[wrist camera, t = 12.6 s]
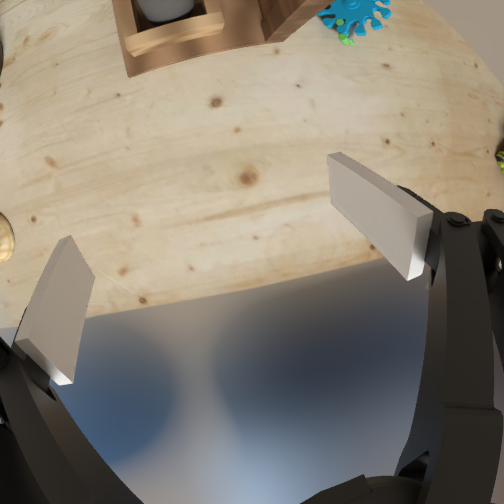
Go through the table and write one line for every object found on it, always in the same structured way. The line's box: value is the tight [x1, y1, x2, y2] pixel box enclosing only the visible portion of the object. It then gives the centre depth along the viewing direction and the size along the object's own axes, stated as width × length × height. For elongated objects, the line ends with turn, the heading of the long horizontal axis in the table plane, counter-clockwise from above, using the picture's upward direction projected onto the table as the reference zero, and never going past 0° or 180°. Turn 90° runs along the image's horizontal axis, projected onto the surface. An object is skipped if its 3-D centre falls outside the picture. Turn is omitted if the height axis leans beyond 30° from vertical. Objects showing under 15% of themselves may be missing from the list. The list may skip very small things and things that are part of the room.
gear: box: [317, 0, 391, 45], centre depth 26 cm, size 11×6×10 cm
